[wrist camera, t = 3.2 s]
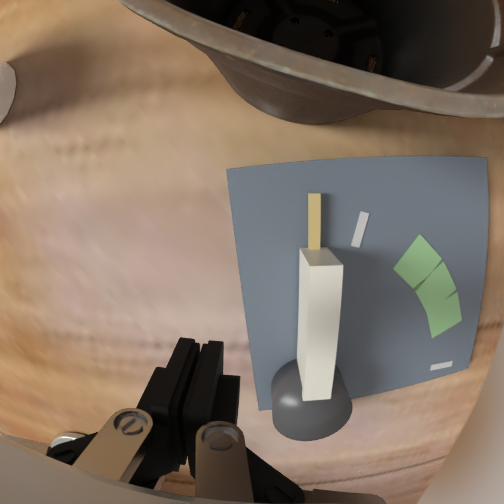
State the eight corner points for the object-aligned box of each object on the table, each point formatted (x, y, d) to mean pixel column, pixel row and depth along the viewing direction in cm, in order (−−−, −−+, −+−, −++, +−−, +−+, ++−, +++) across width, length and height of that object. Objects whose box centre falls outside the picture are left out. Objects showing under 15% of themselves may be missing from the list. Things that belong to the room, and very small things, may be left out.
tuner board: (463, 362, 24) (468, 368, 23) (259, 403, 25) (259, 411, 24) (479, 157, 20) (487, 157, 19) (227, 169, 20) (226, 169, 19)
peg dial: (337, 407, 24) (347, 442, 19) (270, 412, 24) (272, 448, 20) (355, 193, 19) (379, 198, 15) (268, 193, 20) (272, 198, 15)
